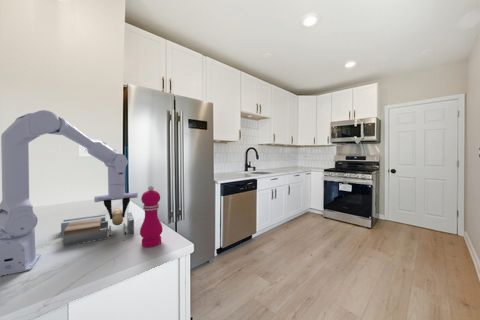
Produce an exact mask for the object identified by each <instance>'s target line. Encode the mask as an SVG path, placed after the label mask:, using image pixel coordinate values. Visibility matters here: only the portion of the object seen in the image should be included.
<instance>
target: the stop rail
mask: <svg viewBox="0 0 480 320" xmlns="http://www.w3.org/2000/svg"><path fill="white" fill-rule="evenodd" d="M126 220H127V222H126V226H127V229H128V230H129V231H128V230H127V231H128V235H129V234H131V235H134V234H135V219H134V216H133V214H132V212H126Z"/></svg>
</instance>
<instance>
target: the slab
mask: <svg viewBox="0 0 480 320" xmlns="http://www.w3.org/2000/svg"><path fill="white" fill-rule="evenodd" d="M100 227H101V218H95V219H88V220H81V221H74V222H69V224H68V225H67V227H66V229H65V230H64V236H68V235H74V234H80V233H86V232H92V231H98V230H100Z"/></svg>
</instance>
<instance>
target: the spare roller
mask: <svg viewBox="0 0 480 320" xmlns="http://www.w3.org/2000/svg"><path fill="white" fill-rule="evenodd" d="M111 221H112V224H113V225H114V226H120V225H123V222H124V218H123V216H122V209H120V208H115V209H113V210H112V219H111Z"/></svg>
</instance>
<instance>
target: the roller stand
mask: <svg viewBox="0 0 480 320" xmlns="http://www.w3.org/2000/svg"><path fill="white" fill-rule="evenodd" d="M95 218H101V222H102V221H107V220H106V214H104V213H103V214H98V215H91V216H84V217H76V218H67V219H63V221H62V222H61V224H60V235H61V236H63V235H64V230H65V229H66V227H67V225H68V224H69V222H74V221H81V220H88V219H95Z"/></svg>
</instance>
